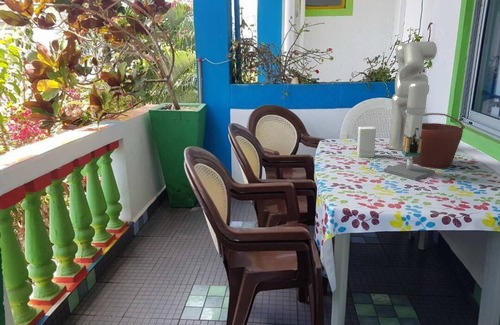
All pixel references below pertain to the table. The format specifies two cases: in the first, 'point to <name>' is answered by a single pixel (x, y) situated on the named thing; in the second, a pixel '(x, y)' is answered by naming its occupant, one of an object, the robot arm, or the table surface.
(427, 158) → the bucket
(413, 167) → the pin board
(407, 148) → the wooden sleeve
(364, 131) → the skincare box
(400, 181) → the table surface
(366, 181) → the table surface
